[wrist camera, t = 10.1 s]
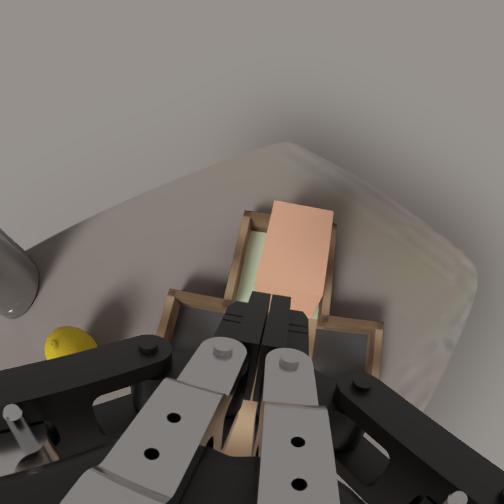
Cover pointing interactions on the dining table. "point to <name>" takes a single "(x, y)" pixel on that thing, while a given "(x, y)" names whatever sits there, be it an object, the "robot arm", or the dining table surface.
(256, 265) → the pad
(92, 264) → the dining table surface
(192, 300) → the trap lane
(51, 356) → the lemon
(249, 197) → the dining table surface
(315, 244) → the block
